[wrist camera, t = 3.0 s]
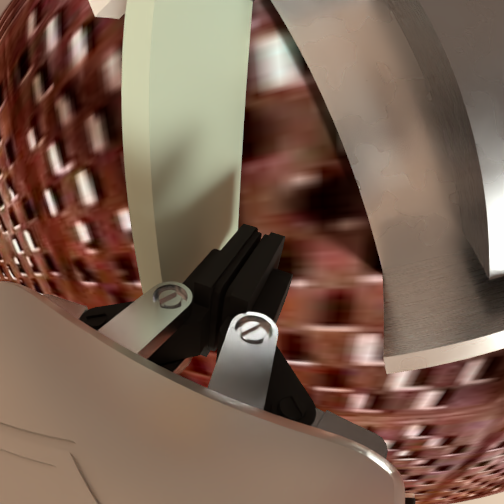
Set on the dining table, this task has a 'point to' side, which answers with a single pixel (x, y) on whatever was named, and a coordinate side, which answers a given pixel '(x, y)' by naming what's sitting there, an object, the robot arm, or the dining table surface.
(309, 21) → the grey open tray
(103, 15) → the fader panel
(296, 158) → the dining table surface
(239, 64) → the door
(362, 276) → the dining table surface
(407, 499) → the dixie cup
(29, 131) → the dining table surface
